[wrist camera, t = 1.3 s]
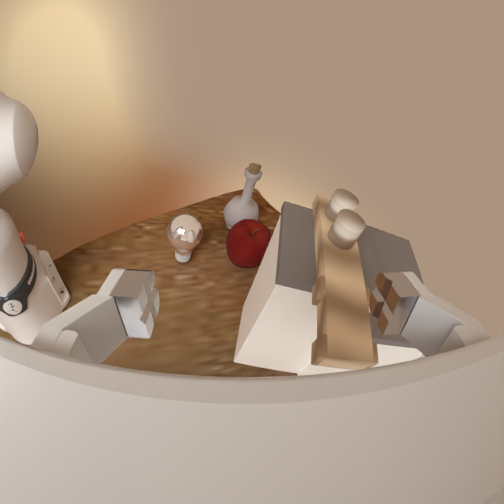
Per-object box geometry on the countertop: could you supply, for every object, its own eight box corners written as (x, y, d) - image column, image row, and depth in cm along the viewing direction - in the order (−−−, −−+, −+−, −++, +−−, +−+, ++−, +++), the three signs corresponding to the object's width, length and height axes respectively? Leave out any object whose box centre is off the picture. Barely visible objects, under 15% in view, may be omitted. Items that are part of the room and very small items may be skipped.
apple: (226, 279, 57) (235, 247, 49) (218, 245, 62) (225, 212, 55) (268, 275, 60) (283, 245, 53) (257, 243, 66) (268, 212, 58)
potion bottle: (226, 237, 64) (242, 174, 51) (218, 212, 70) (231, 152, 57) (260, 236, 67) (282, 176, 54) (250, 212, 73) (268, 154, 60)
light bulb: (172, 244, 59) (174, 202, 50) (202, 252, 60) (208, 210, 51) (162, 267, 54) (161, 226, 46) (194, 276, 55) (198, 235, 46)
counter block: (353, 394, 45) (454, 335, 26) (229, 378, 43) (276, 303, 24) (349, 308, 59) (417, 228, 40) (245, 284, 57) (285, 181, 38)
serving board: (365, 370, 21) (400, 348, 17) (310, 364, 21) (340, 340, 17) (345, 214, 36) (361, 186, 32) (308, 202, 36) (322, 172, 32)
